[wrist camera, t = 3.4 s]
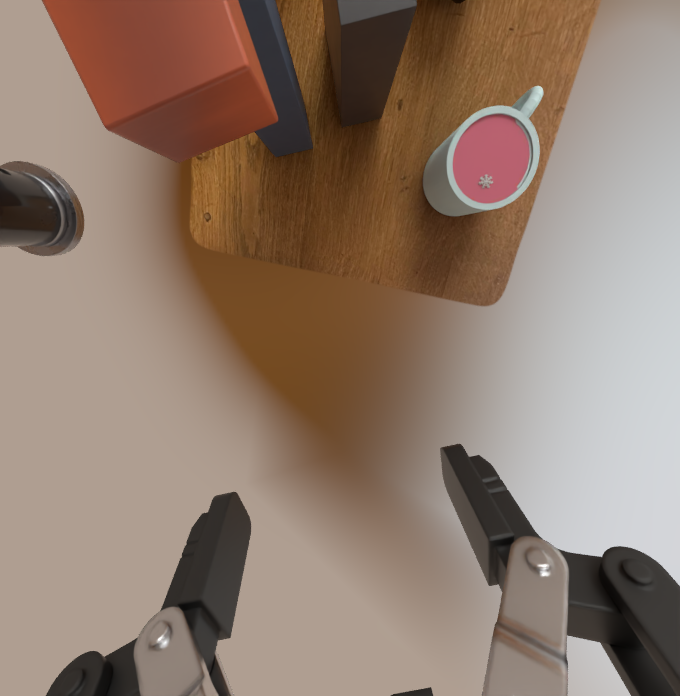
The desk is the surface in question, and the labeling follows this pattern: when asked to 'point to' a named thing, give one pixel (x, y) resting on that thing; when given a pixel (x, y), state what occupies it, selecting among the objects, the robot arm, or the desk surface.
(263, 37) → the dark blue long block
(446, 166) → the mug
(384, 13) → the plinth
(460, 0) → the cat figurine
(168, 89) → the bar
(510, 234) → the desk surface
